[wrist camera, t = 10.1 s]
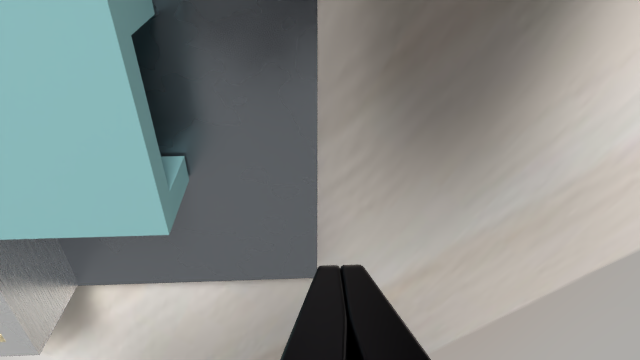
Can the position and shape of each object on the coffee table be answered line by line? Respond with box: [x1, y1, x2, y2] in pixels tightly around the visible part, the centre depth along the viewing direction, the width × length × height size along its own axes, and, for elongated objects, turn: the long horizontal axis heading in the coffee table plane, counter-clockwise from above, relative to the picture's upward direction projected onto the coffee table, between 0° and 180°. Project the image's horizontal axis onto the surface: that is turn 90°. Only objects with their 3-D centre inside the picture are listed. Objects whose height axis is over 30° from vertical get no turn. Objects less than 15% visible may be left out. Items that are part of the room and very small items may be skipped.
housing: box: [0, 0, 189, 240], centre depth 14 cm, size 7×8×4 cm
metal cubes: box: [58, 0, 317, 286], centre depth 17 cm, size 20×15×4 cm
